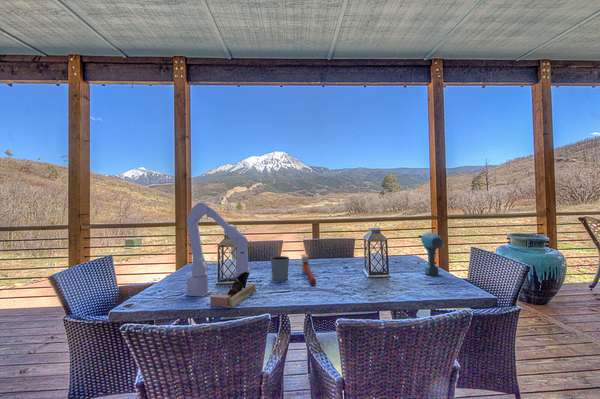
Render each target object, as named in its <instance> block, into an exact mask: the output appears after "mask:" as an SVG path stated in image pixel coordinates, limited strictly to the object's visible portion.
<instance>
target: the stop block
mask: <svg viewBox="0 0 600 399" xmlns="http://www.w3.org/2000/svg"><path fill="white" fill-rule="evenodd" d="M230 298H231V296H229V295H228V294H226V295H225V294H215V293H214V294H212V295H211V296H210V307H216V306H222V307H221V308H229V307H228V306H229V303H228V299H230Z"/></svg>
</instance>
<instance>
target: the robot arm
mask: <svg viewBox="0 0 600 399" xmlns="http://www.w3.org/2000/svg"><path fill="white" fill-rule="evenodd" d="M204 216H205V217H207V218H210V219H212V220H214V221H215V222H216V223H217V224H218V225H219V226H220V227H221V228H223V229H224V230H223V233H224V235H226V236H227V237H228V238H229V239H230V240H231V241H232V242H233V243H235V246H236V252H235V254H236V255H235V256H236V257H235V258H236V269H235V271H234V272H233V277H234V278H236V279H237V281H241V282H242V283H243V285H244V287H243V289H244V288H246V287H247V281H248V278H249V276H250V272H251V271H252V270H251V267H252V266H251V265H249V250H248V245H249V242H248V240H249V239H248V238H247V237H246V235H244V233H243V232H241V231H240V230H239V229H238V227H237V226H236V225H234V224H229V223H228V222H227V221H226V220H225V219H224V218H223V217H222V216H221V214H219V212H217V211H216V210H215V209H214V207H212V206H209V204H208V203H206V202H204V201H201V202H197V203H196V204H195V205H193V207H192V208H191V210H190V212H189V214H188V217H187V218H186V227H187V232H188V238H189V244H190V249H191V250H190V251H191V255H192V256H191V257H192V268H191V274H190V275H189V276H187V278H186V294H185V296H190V297H191V296H192V297H200V298H201V297H205V296H207V295H208V294H210V293H212V291H213V290H211V289H210V290H209V276H208V275H209V274H208V272H207V269H208V263H207V261H206V260H205V256H204V254H203V247H202V241H201V236H200V234H201V233H200V229H199V221H200V220H201V219H202V218H203V217H204Z"/></svg>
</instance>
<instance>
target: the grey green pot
mask: <svg viewBox="0 0 600 399" xmlns="http://www.w3.org/2000/svg"><path fill="white" fill-rule="evenodd" d="M289 264H290V257H289V256H284V255H283V256H281V255H279V256H278V255H276V256H272V257H270V266H271V280H272V281H273V282H280V283H281V282H286V281H287V280H288V279H289Z"/></svg>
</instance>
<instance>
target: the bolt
mask: <svg viewBox="0 0 600 399" xmlns="http://www.w3.org/2000/svg"><path fill="white" fill-rule="evenodd" d="M243 287H244V285H243V283H242V282H241V281H239V280H234V282H233V284H232V285H231V288H230V289H229V291H228V292H227V295H229V296H231V297H232V296H234V295H235V294H237V293H238V292H240V291H241V290H243V289H244V288H243Z"/></svg>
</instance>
